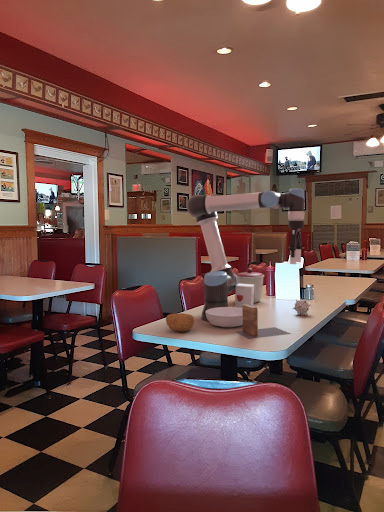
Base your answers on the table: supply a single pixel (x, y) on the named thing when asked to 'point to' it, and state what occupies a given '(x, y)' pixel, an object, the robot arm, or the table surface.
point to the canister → (252, 282)
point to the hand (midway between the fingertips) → (295, 263)
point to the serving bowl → (225, 316)
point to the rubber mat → (265, 333)
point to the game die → (301, 307)
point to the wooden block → (250, 320)
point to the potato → (180, 322)
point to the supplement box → (244, 295)
